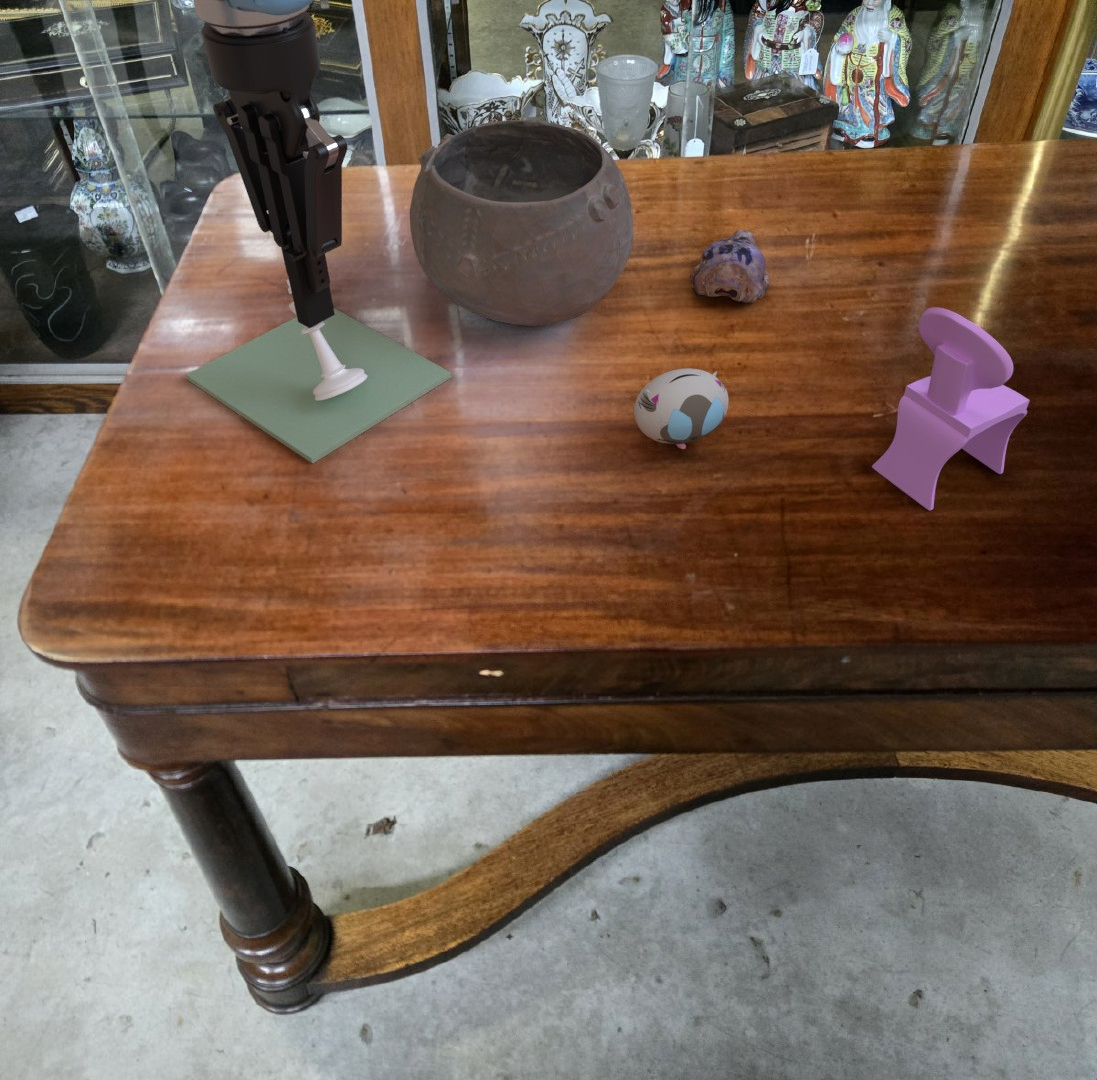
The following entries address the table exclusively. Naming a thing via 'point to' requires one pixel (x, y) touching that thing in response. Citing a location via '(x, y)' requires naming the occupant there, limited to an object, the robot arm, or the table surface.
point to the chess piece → (330, 365)
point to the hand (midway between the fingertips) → (316, 317)
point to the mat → (294, 371)
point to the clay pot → (521, 220)
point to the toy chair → (952, 407)
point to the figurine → (681, 406)
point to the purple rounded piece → (732, 269)
